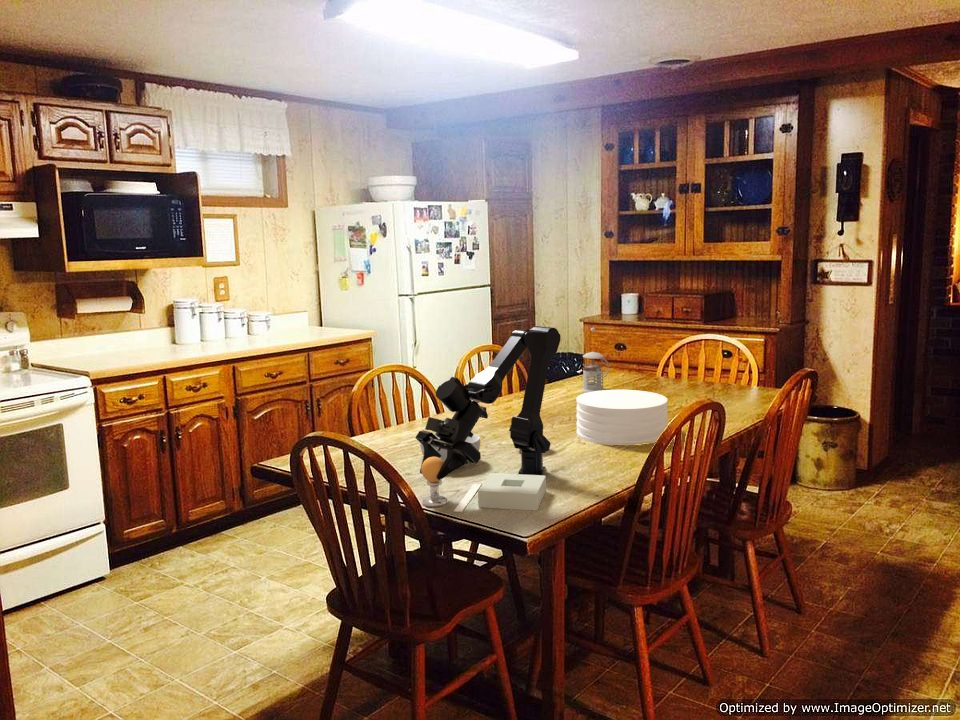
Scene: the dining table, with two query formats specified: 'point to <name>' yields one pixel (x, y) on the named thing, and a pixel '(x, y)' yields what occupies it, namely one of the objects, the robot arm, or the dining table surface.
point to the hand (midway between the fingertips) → (429, 476)
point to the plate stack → (621, 416)
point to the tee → (434, 496)
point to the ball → (431, 468)
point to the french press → (593, 373)
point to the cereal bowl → (474, 441)
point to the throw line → (467, 498)
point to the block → (512, 491)
